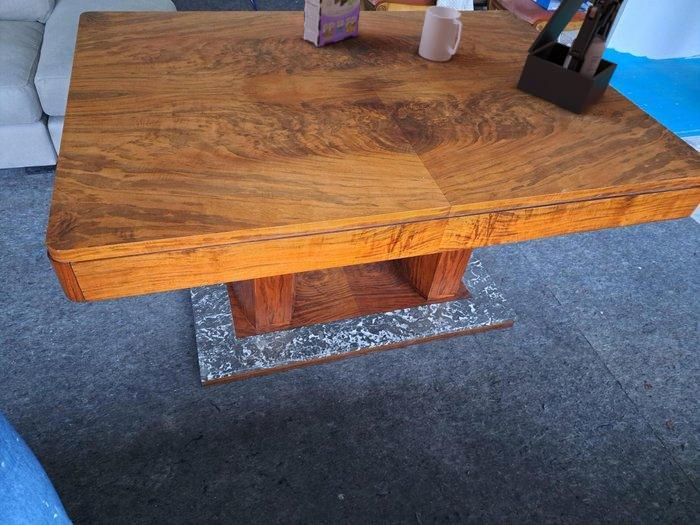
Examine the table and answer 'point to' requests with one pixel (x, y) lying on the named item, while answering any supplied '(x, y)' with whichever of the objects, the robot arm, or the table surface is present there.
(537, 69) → the dark piece
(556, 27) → the lid
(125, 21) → the table surface
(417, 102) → the table surface
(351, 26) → the candy box
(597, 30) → the robot arm
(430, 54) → the cup
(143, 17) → the table surface
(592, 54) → the beverage can
